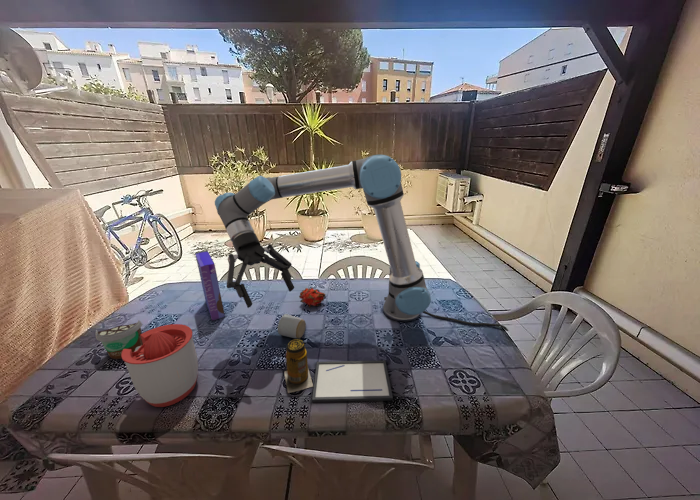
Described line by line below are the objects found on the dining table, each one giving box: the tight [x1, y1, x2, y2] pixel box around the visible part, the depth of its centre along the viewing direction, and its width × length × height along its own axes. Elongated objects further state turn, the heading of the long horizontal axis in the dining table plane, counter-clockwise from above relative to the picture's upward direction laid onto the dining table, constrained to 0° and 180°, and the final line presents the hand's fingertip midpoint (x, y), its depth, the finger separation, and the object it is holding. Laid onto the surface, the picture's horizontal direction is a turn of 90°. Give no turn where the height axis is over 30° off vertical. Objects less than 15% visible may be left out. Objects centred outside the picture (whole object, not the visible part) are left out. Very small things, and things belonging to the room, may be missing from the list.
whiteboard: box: [311, 359, 394, 403], centre depth 80 cm, size 22×14×1 cm, turn 91°
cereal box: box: [194, 250, 226, 322], centre depth 112 cm, size 17×5×24 cm, turn 34°
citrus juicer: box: [121, 323, 199, 408], centre depth 74 cm, size 16×17×20 cm
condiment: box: [283, 338, 314, 394], centre depth 79 cm, size 7×8×12 cm
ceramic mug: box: [277, 313, 307, 340], centre depth 100 cm, size 11×8×8 cm
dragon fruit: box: [298, 287, 327, 308], centre depth 119 cm, size 8×8×12 cm
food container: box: [95, 319, 143, 360], centre depth 89 cm, size 12×6×10 cm, turn 117°
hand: (272, 297), depth 80 cm, fingers open, 13 cm apart
